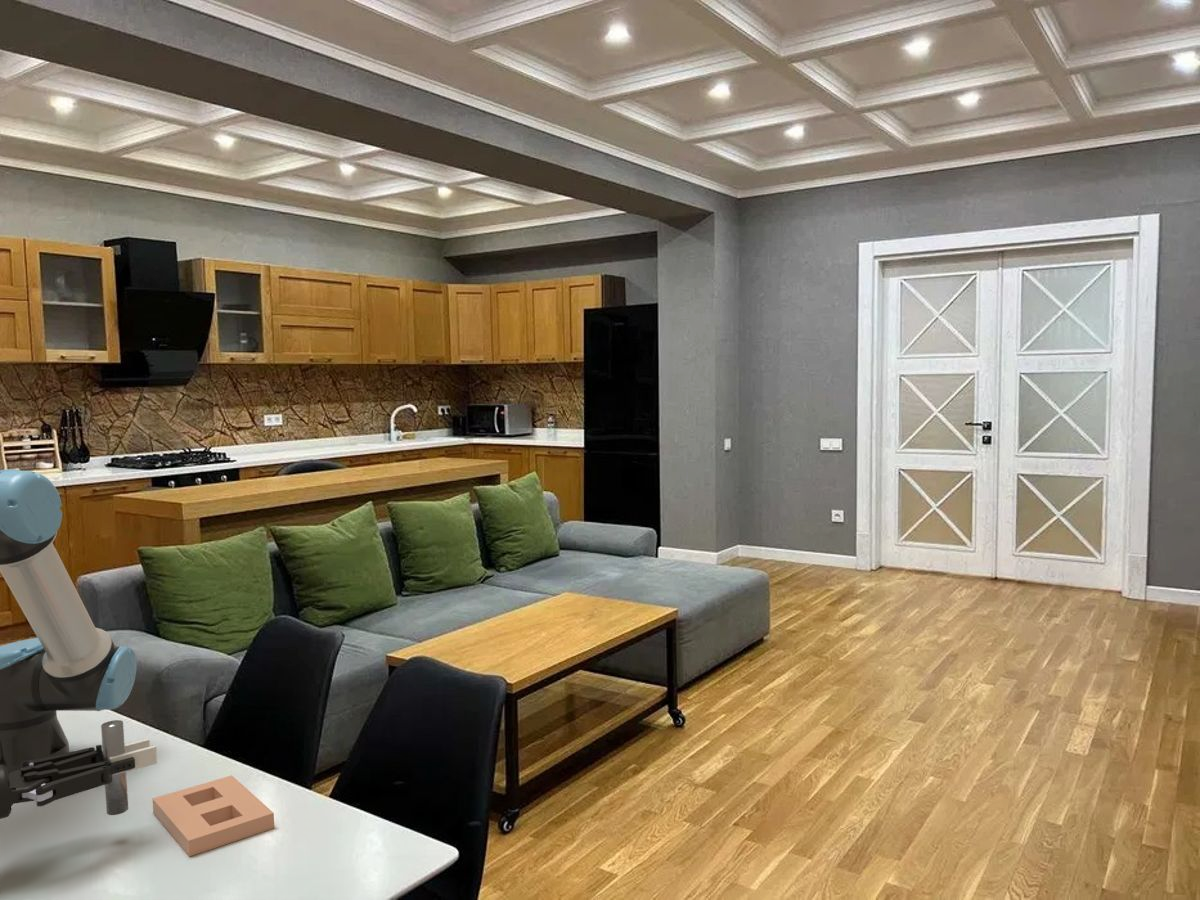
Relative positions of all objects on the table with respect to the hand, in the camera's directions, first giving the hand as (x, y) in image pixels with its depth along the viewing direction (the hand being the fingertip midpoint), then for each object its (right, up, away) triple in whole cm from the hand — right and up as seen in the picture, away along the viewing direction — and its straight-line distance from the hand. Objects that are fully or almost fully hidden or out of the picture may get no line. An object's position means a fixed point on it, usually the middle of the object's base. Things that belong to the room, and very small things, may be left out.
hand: (152, 750), depth 144 cm
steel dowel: (-4, -8, -3) cm, 10 cm away
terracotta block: (+8, -13, +4) cm, 15 cm away
